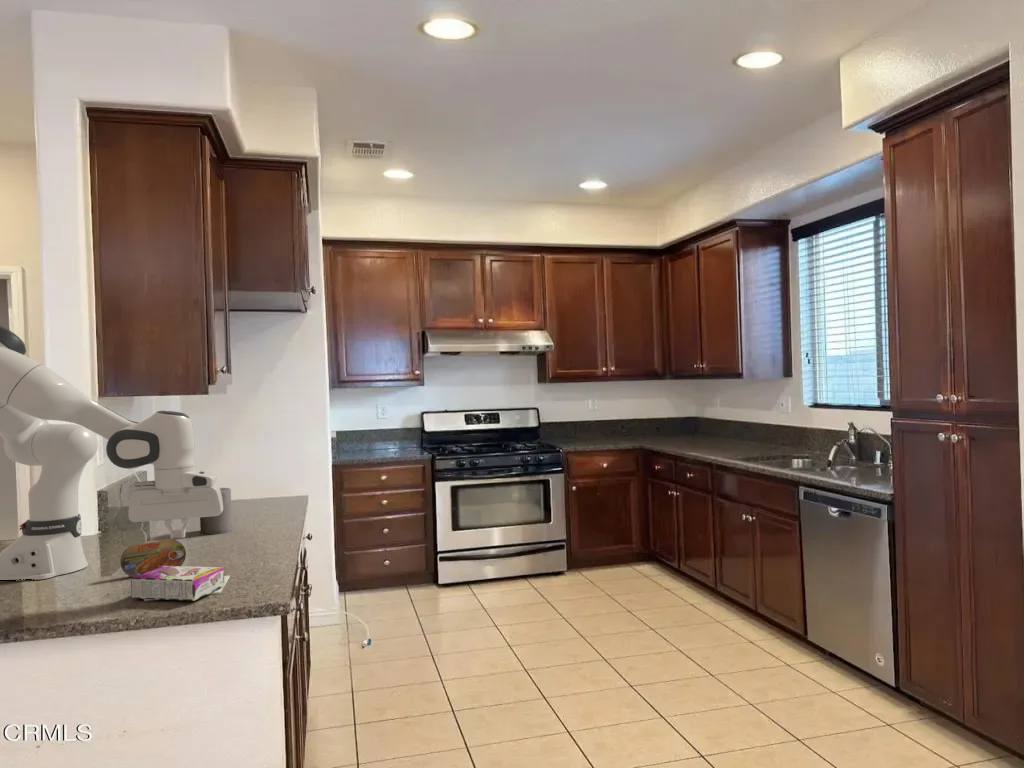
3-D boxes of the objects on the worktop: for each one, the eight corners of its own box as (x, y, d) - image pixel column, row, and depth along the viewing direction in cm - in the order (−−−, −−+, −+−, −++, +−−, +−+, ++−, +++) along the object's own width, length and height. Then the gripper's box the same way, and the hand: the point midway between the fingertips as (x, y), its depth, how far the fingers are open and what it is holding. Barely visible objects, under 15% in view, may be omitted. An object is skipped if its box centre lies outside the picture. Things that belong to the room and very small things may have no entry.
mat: (144, 601, 159) (144, 599, 159) (160, 583, 173) (159, 581, 173) (220, 593, 163) (220, 591, 163) (229, 577, 176) (229, 575, 176)
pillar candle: (194, 535, 227) (193, 488, 227) (208, 528, 237) (207, 483, 237) (224, 534, 227) (223, 488, 227) (237, 527, 237) (235, 483, 236)
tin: (121, 580, 177) (119, 547, 177) (120, 577, 180) (118, 544, 180) (186, 569, 185) (185, 537, 185) (184, 567, 188) (183, 535, 188)
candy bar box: (164, 563, 170) (224, 566, 167) (164, 584, 170) (225, 587, 167) (129, 577, 159) (193, 579, 156) (130, 599, 159) (194, 602, 156)
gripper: (122, 484, 161) (125, 544, 162) (218, 478, 166) (221, 536, 166) (131, 480, 168) (133, 538, 168) (223, 474, 172) (225, 531, 173)
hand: (178, 537), depth 167 cm, fingers closed
